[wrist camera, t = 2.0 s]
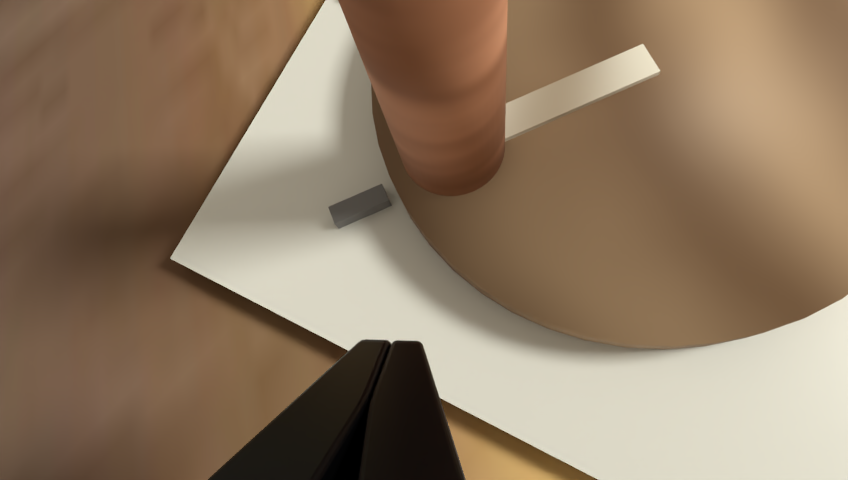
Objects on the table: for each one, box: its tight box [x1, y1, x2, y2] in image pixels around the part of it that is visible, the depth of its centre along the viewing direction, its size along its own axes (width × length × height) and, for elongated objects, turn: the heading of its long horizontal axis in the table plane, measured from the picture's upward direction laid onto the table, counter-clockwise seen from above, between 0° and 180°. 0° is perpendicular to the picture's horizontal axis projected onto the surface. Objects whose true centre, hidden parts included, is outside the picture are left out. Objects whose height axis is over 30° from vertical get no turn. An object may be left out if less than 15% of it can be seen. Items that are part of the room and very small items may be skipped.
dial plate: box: [170, 0, 848, 480], centre depth 18 cm, size 22×22×1 cm
